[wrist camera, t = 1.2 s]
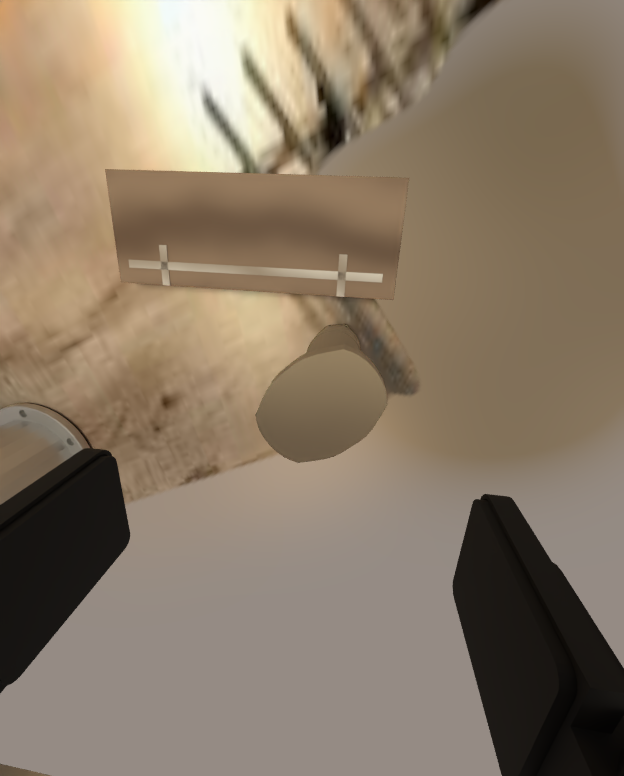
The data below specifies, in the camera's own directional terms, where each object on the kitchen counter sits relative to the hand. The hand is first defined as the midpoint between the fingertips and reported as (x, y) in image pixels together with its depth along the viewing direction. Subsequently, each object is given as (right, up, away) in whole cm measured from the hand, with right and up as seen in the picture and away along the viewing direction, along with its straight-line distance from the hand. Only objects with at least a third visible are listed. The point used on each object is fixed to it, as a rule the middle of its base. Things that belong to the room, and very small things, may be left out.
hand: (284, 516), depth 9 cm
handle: (+3, +8, +21) cm, 23 cm away
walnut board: (-4, +16, +19) cm, 25 cm away
